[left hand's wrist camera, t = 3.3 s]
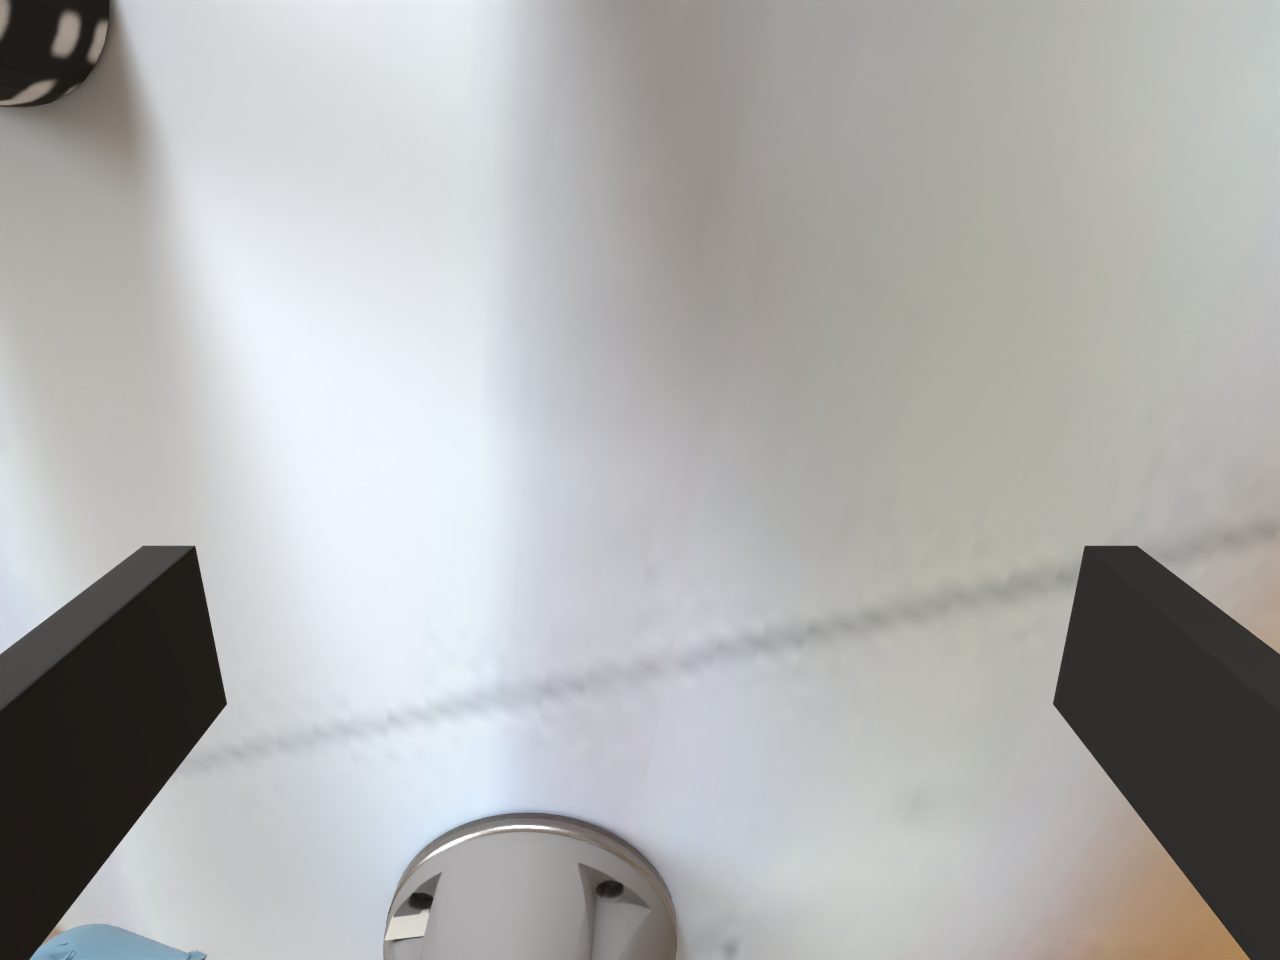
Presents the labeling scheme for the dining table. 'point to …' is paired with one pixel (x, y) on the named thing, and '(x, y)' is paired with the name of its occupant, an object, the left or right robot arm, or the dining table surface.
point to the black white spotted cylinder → (48, 47)
